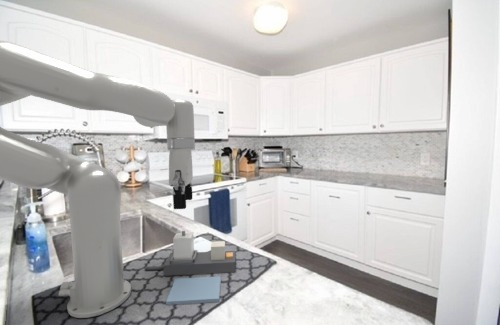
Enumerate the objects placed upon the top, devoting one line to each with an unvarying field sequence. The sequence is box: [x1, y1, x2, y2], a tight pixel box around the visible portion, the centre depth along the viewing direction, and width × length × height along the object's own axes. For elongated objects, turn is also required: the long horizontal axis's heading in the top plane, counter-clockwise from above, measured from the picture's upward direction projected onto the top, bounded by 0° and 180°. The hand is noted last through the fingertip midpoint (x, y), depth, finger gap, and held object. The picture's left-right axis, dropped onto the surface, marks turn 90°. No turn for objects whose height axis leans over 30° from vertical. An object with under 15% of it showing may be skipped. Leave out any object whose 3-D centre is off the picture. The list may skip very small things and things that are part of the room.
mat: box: [165, 275, 222, 306], centre depth 57 cm, size 12×9×1 cm
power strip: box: [144, 240, 236, 277], centre depth 67 cm, size 26×7×7 cm, turn 95°
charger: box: [172, 230, 195, 260], centre depth 67 cm, size 5×4×8 cm
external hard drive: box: [194, 236, 213, 252], centre depth 81 cm, size 2×8×12 cm
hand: (183, 203), depth 66 cm, fingers open, 9 cm apart
